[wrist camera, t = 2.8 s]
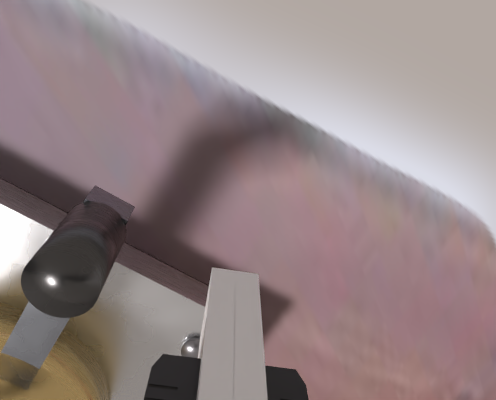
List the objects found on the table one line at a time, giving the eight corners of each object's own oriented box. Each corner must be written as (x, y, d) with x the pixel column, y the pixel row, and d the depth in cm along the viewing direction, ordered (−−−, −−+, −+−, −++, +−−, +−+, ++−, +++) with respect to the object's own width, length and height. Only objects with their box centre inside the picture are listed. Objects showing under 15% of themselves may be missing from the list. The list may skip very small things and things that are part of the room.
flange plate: (-202, 405, 28) (-238, 438, 26) (-99, 127, 22) (-134, 140, 20) (103, 516, 32) (94, 551, 30) (259, 312, 26) (262, 339, 24)
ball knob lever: (58, 486, 28) (5, 630, 21) (-131, 416, 25) (-255, 556, 19) (231, 237, 22) (230, 333, 15) (6, 113, 19) (-108, 166, 13)
